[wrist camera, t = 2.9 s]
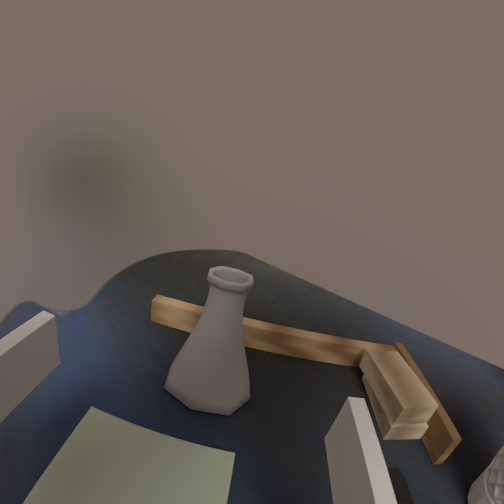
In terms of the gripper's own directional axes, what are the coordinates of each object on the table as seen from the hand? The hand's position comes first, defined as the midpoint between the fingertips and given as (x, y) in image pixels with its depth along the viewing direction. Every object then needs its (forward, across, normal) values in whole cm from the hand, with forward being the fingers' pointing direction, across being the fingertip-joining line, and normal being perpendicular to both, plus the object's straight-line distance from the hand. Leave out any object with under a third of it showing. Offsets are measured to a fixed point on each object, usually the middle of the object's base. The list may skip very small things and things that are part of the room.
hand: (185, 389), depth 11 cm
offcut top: (+11, +17, -6) cm, 21 cm away
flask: (+10, 0, -8) cm, 13 cm away
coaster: (-2, -2, -8) cm, 9 cm away
